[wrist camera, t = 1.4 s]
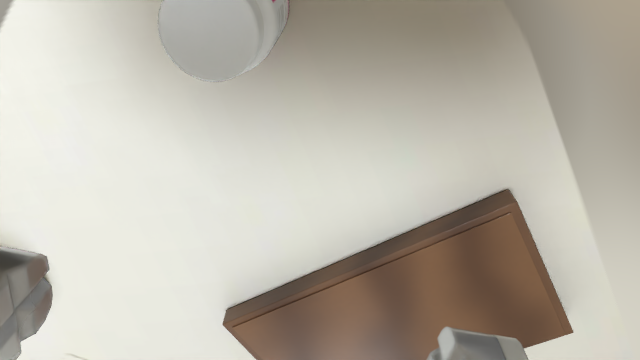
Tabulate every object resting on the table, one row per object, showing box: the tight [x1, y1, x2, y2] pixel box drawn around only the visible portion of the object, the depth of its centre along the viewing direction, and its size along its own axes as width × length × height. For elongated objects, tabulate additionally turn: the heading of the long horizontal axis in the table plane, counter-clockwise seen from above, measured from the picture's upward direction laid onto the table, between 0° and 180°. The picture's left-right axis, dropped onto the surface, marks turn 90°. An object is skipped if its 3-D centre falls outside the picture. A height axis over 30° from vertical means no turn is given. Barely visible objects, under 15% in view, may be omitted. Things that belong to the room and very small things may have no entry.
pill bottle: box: [158, 0, 289, 82], centre depth 20 cm, size 5×5×8 cm
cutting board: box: [223, 190, 573, 360], centre depth 35 cm, size 24×14×2 cm, turn 121°
